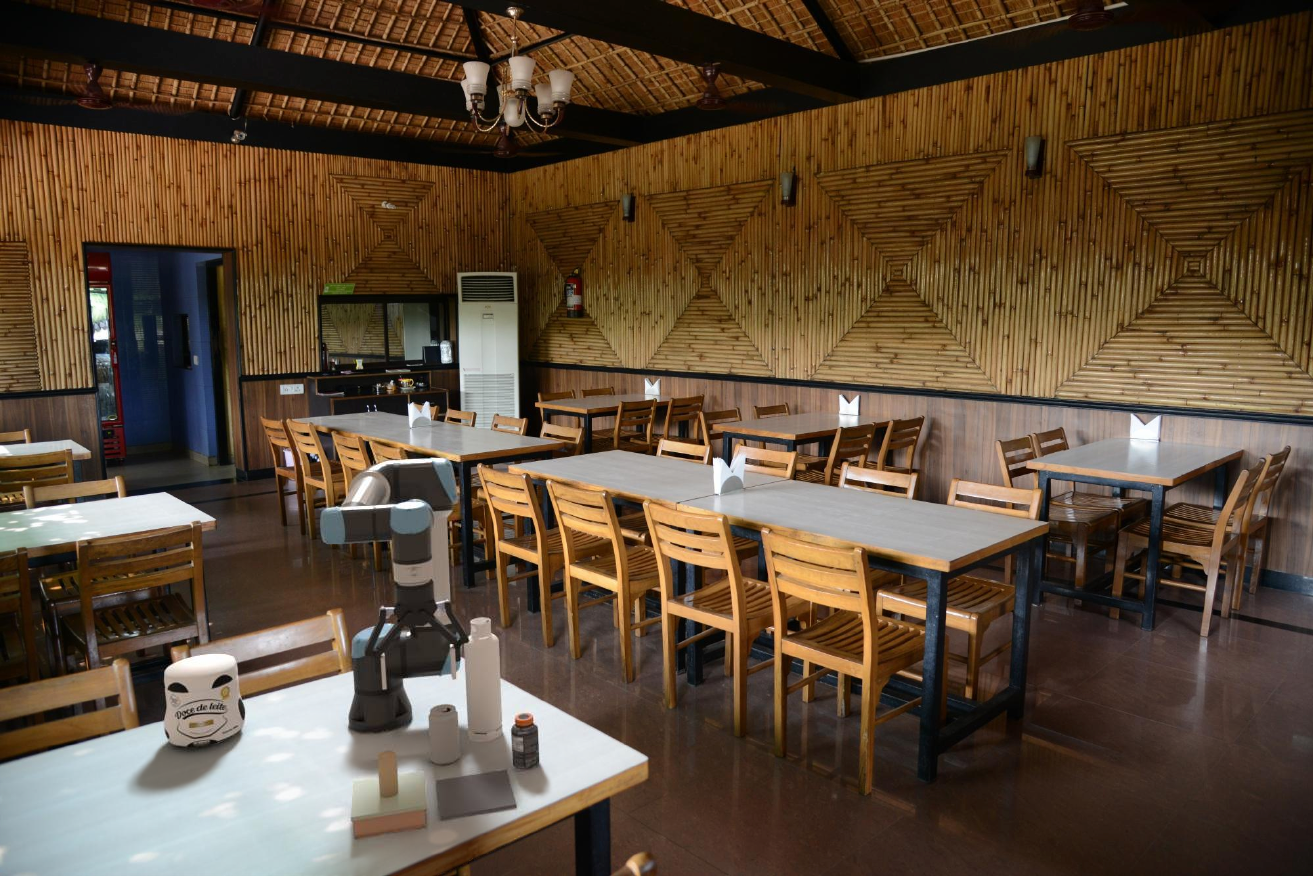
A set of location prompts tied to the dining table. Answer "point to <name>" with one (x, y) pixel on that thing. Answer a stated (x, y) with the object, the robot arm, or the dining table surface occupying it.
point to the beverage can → (444, 734)
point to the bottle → (483, 682)
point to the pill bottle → (525, 742)
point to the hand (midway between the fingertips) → (419, 681)
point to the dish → (389, 824)
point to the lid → (388, 791)
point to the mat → (475, 794)
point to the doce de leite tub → (202, 701)
